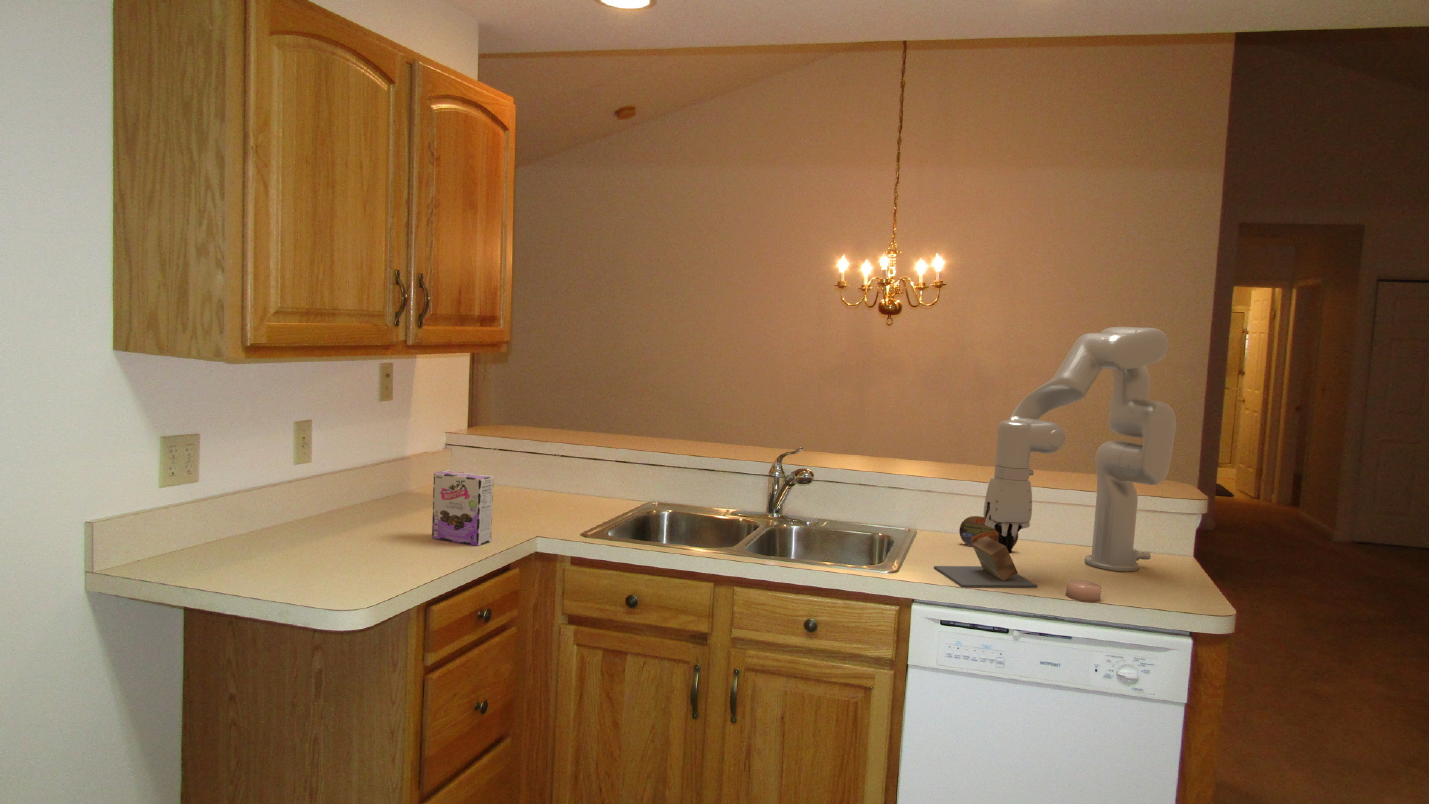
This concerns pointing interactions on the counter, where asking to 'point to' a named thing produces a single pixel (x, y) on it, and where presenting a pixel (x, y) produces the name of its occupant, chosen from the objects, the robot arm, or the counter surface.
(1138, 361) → the robot arm
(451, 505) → the candy box
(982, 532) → the tin
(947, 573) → the mat
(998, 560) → the slab
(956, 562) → the counter surface
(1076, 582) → the pink round puck
